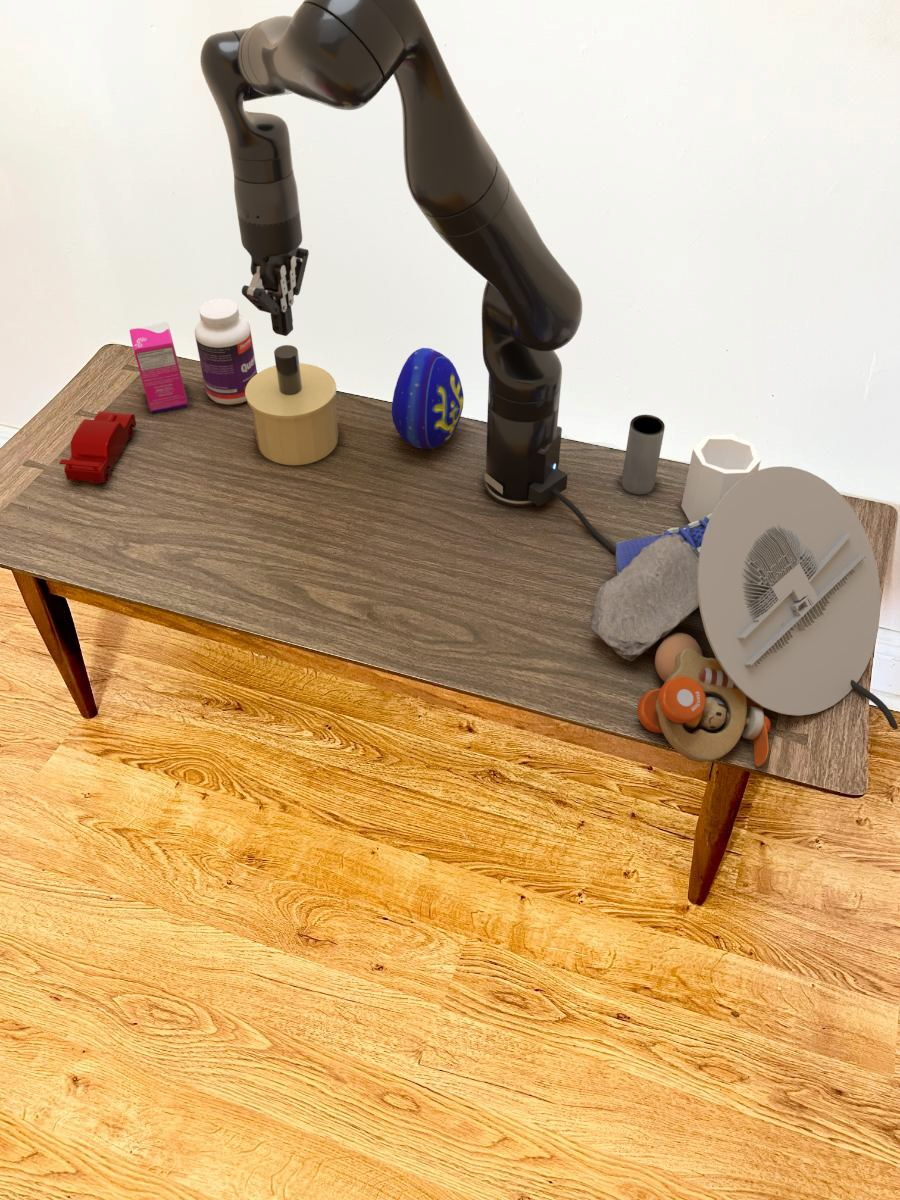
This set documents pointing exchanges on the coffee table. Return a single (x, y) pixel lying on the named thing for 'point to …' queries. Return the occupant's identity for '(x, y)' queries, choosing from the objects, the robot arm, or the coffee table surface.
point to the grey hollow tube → (642, 454)
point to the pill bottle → (225, 351)
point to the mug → (716, 472)
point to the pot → (297, 436)
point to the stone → (648, 597)
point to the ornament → (427, 399)
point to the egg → (673, 653)
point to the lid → (290, 387)
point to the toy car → (98, 446)
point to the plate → (788, 590)
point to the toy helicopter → (704, 711)
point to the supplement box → (158, 367)
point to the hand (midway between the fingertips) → (283, 331)
